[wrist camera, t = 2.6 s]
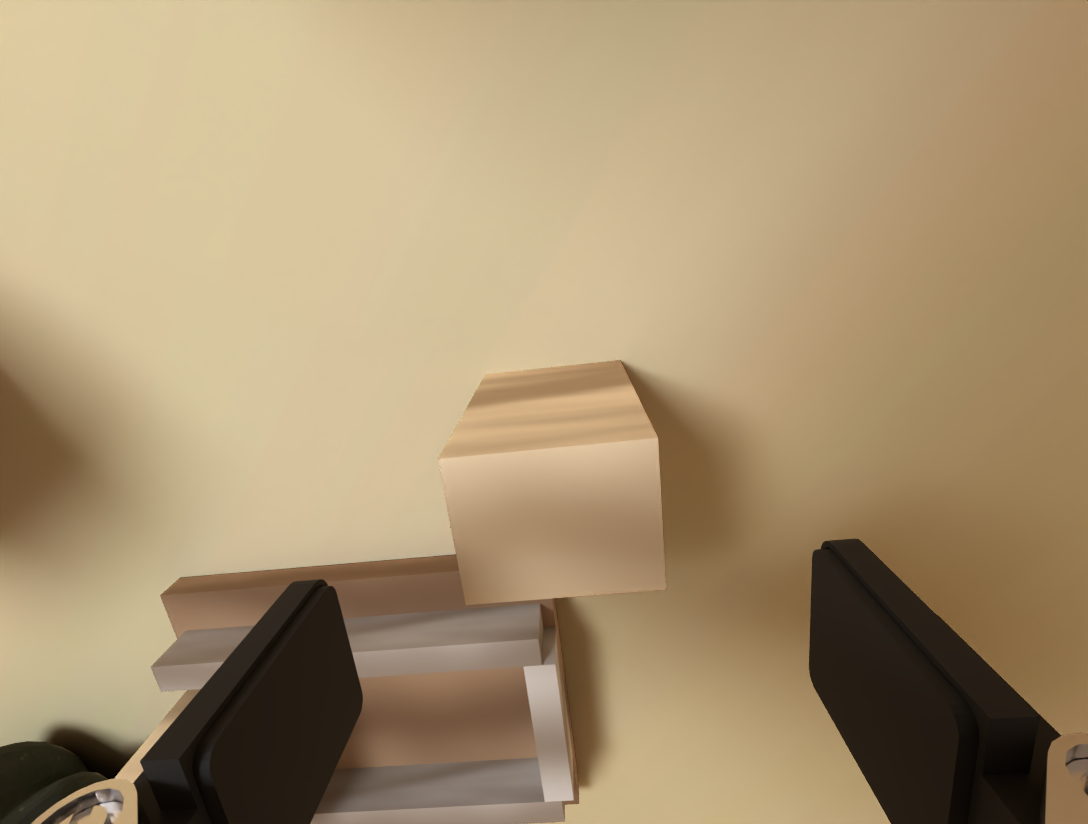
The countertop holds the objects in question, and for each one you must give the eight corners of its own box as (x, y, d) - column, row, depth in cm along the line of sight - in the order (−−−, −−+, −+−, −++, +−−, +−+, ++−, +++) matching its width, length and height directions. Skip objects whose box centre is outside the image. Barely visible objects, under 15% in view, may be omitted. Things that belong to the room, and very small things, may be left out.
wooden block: (485, 374, 20) (437, 458, 12) (620, 360, 19) (658, 438, 12) (501, 481, 21) (468, 618, 13) (628, 470, 21) (667, 603, 13)
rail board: (180, 577, 23) (48, 695, 17) (548, 546, 22) (543, 660, 16) (263, 796, 27) (179, 952, 21) (578, 778, 26) (583, 938, 20)
